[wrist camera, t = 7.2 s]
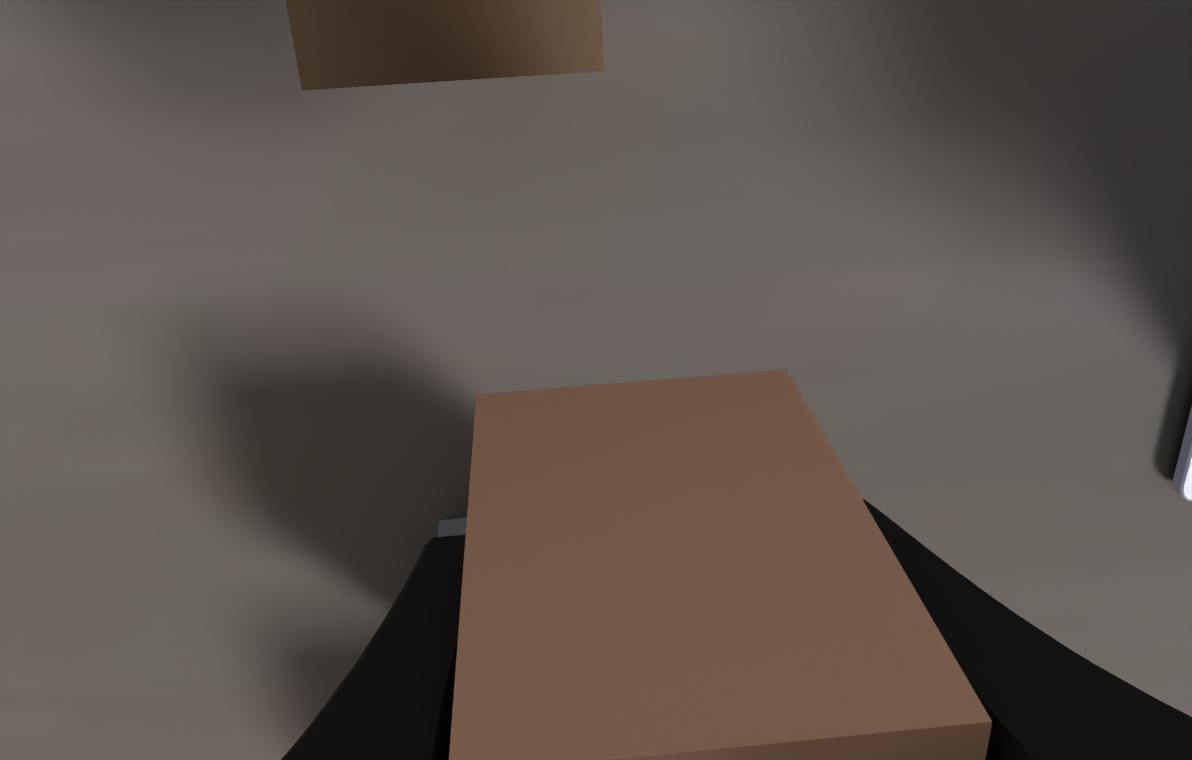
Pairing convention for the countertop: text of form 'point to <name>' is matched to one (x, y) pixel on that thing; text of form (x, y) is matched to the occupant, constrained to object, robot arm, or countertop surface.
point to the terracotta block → (688, 588)
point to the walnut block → (441, 40)
